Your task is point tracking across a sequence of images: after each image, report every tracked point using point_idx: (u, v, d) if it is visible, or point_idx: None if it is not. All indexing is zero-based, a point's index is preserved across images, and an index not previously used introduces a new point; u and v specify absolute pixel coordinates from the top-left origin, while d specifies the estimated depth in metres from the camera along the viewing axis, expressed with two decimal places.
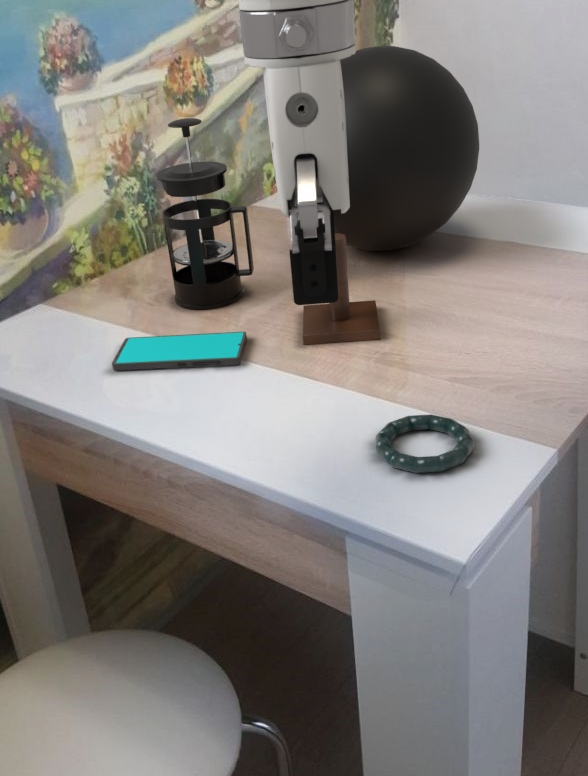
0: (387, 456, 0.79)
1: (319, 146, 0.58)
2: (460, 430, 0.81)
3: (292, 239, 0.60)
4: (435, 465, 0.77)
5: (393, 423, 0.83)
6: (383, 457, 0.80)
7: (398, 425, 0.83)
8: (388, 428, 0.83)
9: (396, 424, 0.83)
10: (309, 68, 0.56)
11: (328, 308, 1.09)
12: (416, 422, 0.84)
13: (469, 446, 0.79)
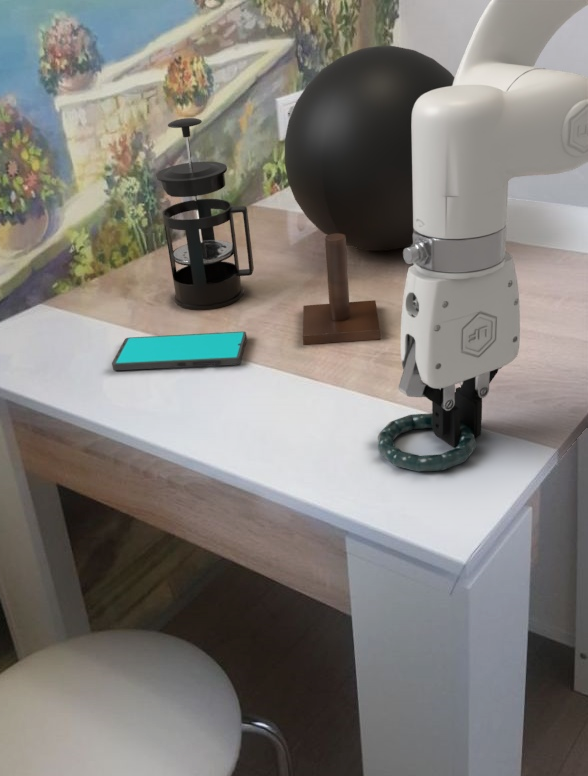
0: (389, 455, 0.79)
1: (417, 335, 0.74)
2: (462, 429, 0.81)
3: None
4: (437, 464, 0.77)
5: (395, 422, 0.83)
6: (385, 456, 0.80)
7: (400, 424, 0.83)
8: (390, 427, 0.83)
9: (399, 423, 0.83)
10: (420, 279, 0.72)
11: (328, 308, 1.09)
12: (418, 421, 0.84)
13: (471, 445, 0.79)
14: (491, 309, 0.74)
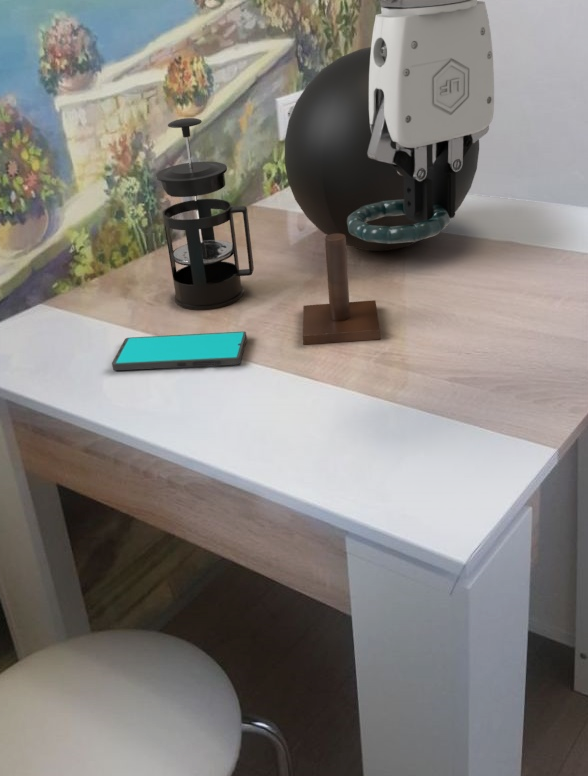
0: (359, 229, 0.75)
1: (386, 85, 0.70)
2: (435, 207, 0.77)
3: None
4: (409, 233, 0.73)
5: (365, 206, 0.79)
6: (355, 232, 0.76)
7: (371, 208, 0.79)
8: (360, 210, 0.79)
9: (369, 207, 0.79)
10: (387, 18, 0.68)
11: (328, 308, 1.09)
12: (390, 206, 0.80)
13: (445, 218, 0.75)
14: (463, 58, 0.70)
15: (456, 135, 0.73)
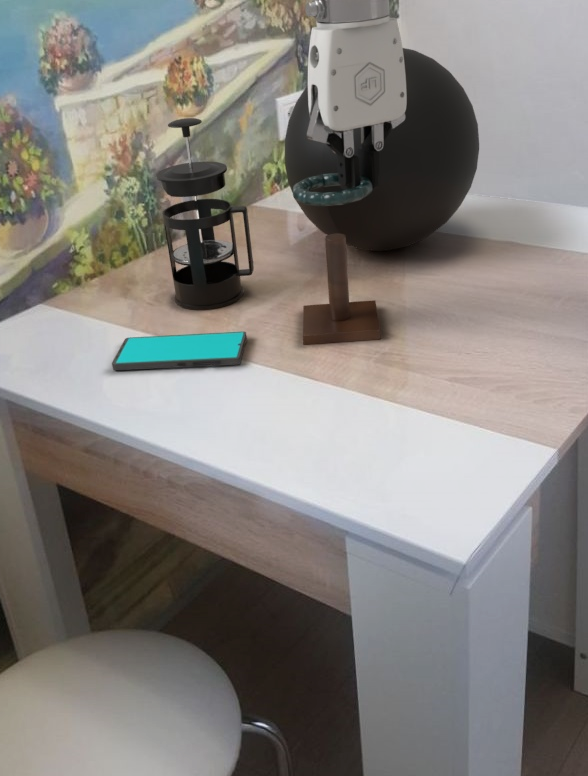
0: (300, 195, 0.96)
1: (318, 82, 0.91)
2: (362, 178, 0.98)
3: None
4: (338, 197, 0.94)
5: (308, 178, 1.00)
6: (297, 197, 0.97)
7: (313, 179, 1.00)
8: (304, 180, 1.00)
9: (311, 179, 1.00)
10: (319, 31, 0.89)
11: (328, 308, 1.09)
12: (328, 178, 1.01)
13: (368, 186, 0.96)
14: (379, 62, 0.91)
15: (375, 121, 0.94)
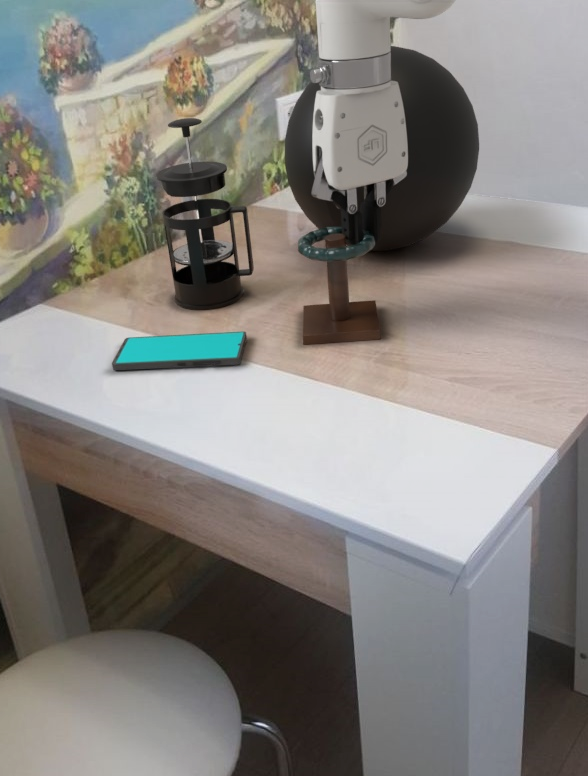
0: (305, 250, 0.99)
1: (323, 144, 0.94)
2: (365, 233, 1.01)
3: None
4: (342, 253, 0.98)
5: (313, 231, 1.04)
6: (303, 252, 1.00)
7: (317, 233, 1.03)
8: (308, 234, 1.03)
9: (316, 232, 1.03)
10: (323, 96, 0.92)
11: (328, 308, 1.09)
12: (332, 231, 1.04)
13: (370, 242, 0.99)
14: (381, 124, 0.94)
15: (378, 180, 0.97)
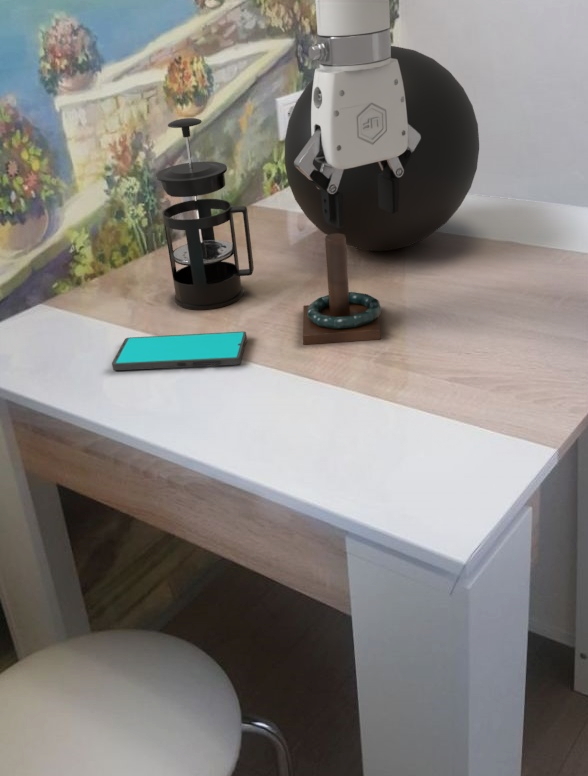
0: (315, 318, 1.04)
1: (322, 122, 0.93)
2: (371, 300, 1.06)
3: None
4: (350, 322, 1.02)
5: (321, 298, 1.08)
6: (312, 319, 1.05)
7: (325, 299, 1.08)
8: (317, 301, 1.08)
9: (324, 298, 1.08)
10: (322, 73, 0.91)
11: (328, 308, 1.09)
12: None
13: (377, 310, 1.04)
14: (381, 102, 0.93)
15: (378, 159, 0.96)
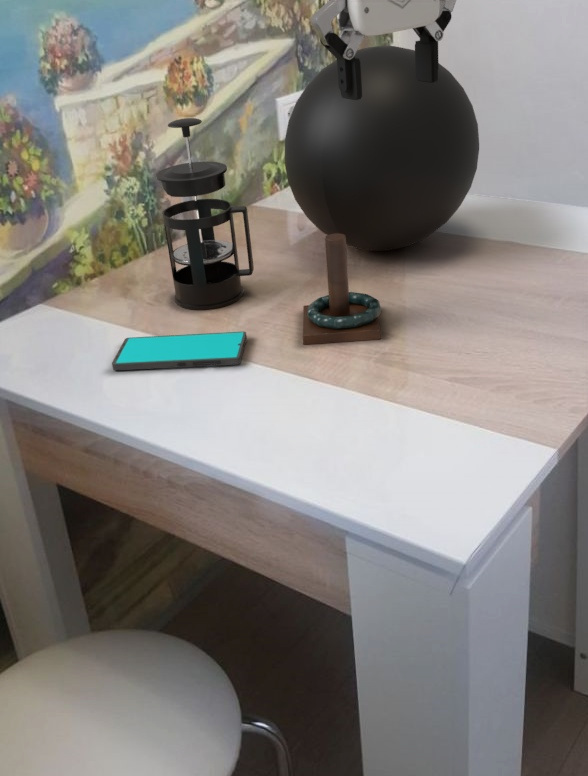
0: (315, 318, 1.04)
1: None
2: (371, 300, 1.06)
3: None
4: (350, 322, 1.02)
5: (321, 298, 1.08)
6: (312, 319, 1.05)
7: (325, 299, 1.08)
8: (317, 301, 1.08)
9: (324, 298, 1.08)
10: None
11: (328, 308, 1.09)
12: None
13: (377, 310, 1.04)
14: None
15: (408, 26, 0.89)
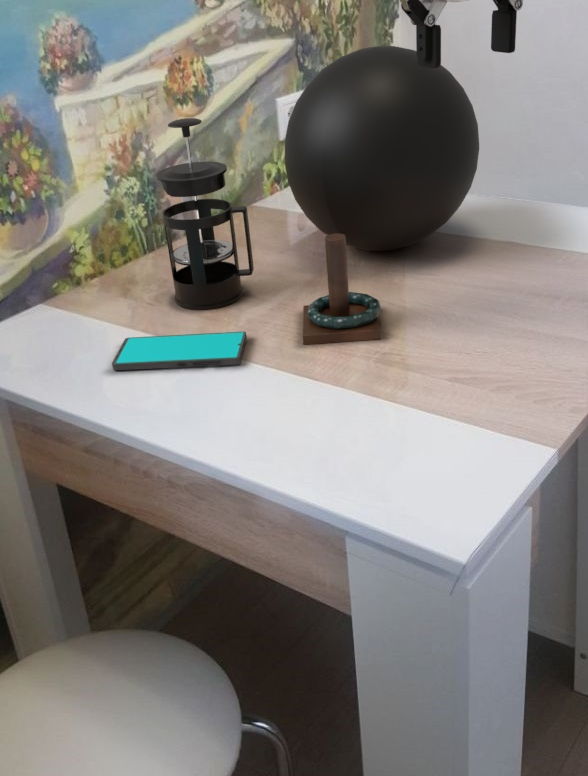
0: (315, 318, 1.04)
1: None
2: (371, 300, 1.06)
3: None
4: (350, 322, 1.02)
5: (321, 298, 1.08)
6: (312, 319, 1.05)
7: (325, 299, 1.08)
8: (317, 301, 1.08)
9: (324, 298, 1.08)
10: None
11: (328, 308, 1.09)
12: None
13: (377, 310, 1.04)
14: None
15: None
